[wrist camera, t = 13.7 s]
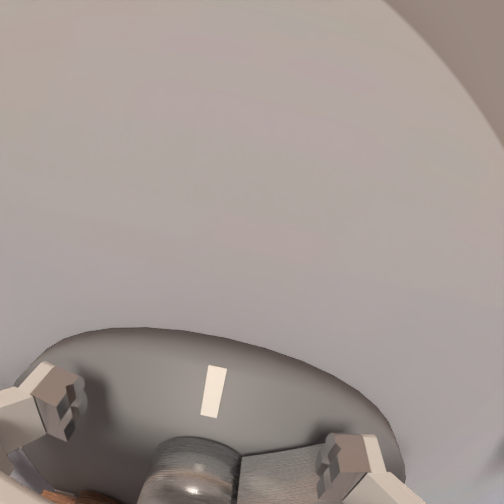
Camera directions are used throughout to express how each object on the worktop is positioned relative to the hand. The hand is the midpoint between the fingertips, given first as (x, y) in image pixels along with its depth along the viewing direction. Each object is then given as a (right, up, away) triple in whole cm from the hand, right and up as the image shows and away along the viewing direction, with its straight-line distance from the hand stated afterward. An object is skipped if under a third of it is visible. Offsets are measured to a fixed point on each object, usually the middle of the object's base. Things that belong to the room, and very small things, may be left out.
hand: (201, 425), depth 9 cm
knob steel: (+1, -3, +2) cm, 4 cm away
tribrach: (-2, -9, +7) cm, 12 cm away
